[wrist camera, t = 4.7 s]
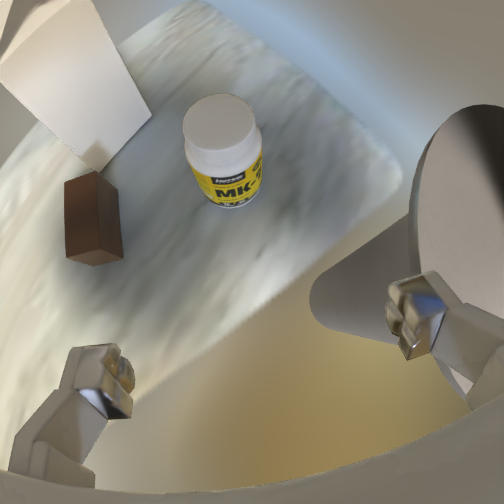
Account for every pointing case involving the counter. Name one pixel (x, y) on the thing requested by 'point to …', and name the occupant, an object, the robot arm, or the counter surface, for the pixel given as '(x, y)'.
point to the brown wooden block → (92, 220)
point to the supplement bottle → (224, 149)
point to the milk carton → (70, 75)
